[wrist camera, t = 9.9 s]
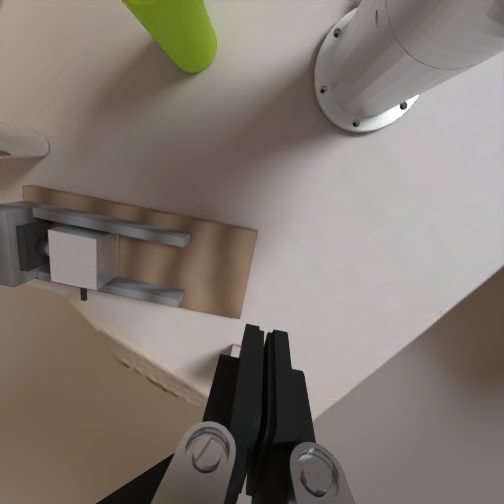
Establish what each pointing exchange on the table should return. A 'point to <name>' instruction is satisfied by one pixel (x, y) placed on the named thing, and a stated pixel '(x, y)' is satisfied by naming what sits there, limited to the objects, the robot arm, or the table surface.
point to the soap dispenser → (179, 30)
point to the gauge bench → (134, 250)
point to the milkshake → (21, 142)
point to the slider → (81, 256)
